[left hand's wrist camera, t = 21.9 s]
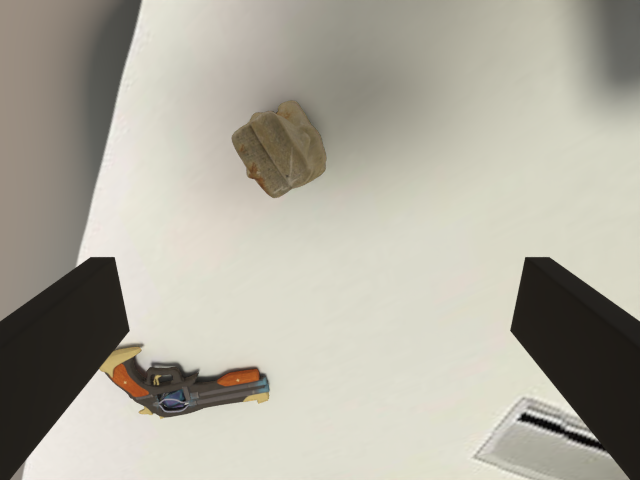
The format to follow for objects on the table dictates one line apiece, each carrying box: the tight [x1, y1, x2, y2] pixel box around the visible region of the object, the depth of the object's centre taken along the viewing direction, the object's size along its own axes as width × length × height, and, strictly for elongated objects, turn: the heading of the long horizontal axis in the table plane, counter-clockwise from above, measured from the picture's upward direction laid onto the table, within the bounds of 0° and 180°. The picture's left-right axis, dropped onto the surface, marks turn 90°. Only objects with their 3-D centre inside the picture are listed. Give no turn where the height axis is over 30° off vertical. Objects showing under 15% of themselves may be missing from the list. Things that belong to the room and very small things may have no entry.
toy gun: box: [99, 347, 269, 419], centre depth 47 cm, size 3×19×10 cm
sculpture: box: [232, 101, 326, 198], centre depth 31 cm, size 6×7×15 cm
